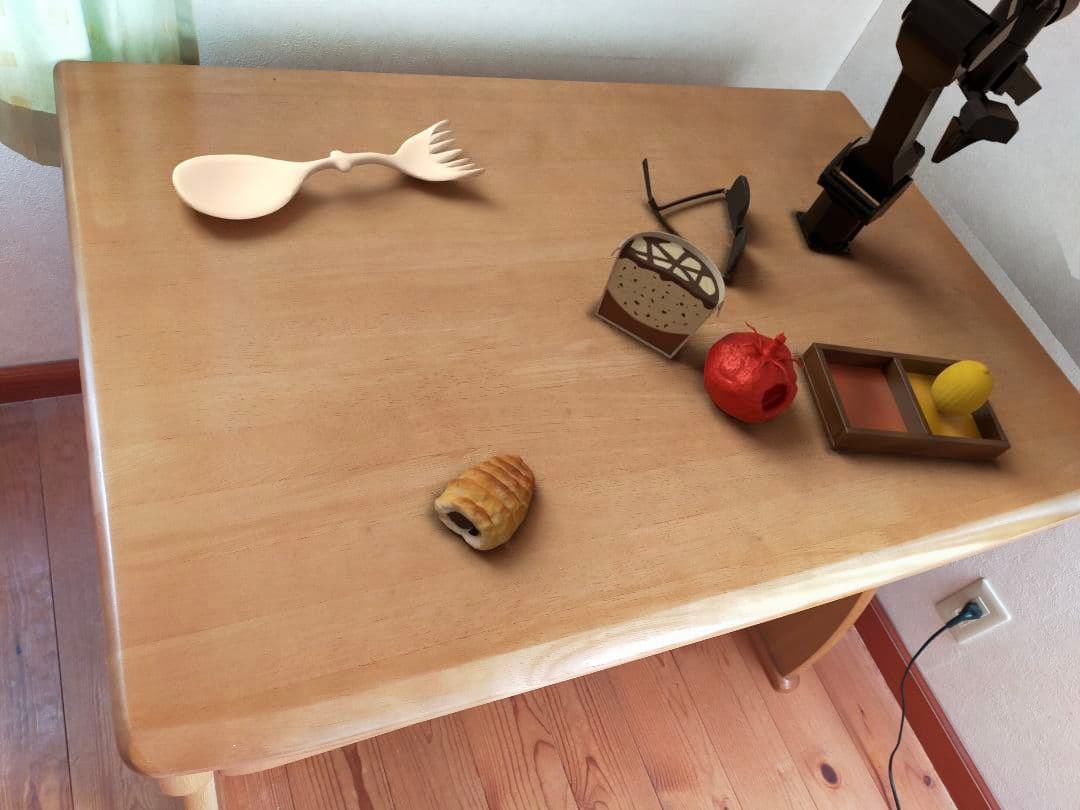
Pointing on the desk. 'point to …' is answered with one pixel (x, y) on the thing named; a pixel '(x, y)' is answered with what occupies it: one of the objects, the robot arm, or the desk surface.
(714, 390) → the pomegranate
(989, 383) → the lemon
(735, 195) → the sunglasses
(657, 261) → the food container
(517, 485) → the pastry
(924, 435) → the sorting tray
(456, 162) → the spoon
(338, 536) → the desk surface
